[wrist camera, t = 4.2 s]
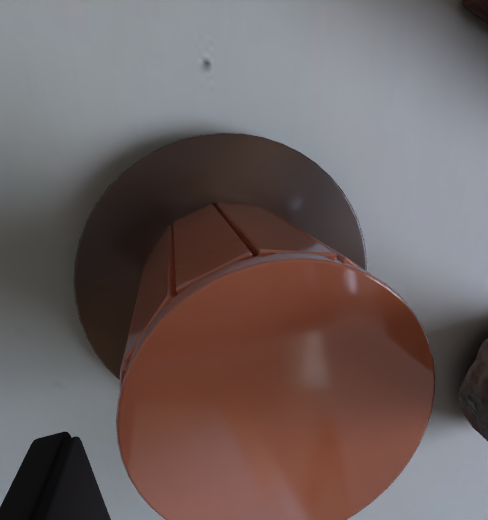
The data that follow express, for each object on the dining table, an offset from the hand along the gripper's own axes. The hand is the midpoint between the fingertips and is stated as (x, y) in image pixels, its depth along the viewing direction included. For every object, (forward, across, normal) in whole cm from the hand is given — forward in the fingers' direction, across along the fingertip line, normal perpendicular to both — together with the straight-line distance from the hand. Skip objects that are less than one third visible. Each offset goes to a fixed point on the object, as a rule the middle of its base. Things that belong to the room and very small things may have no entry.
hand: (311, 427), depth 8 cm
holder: (+11, +1, 0) cm, 11 cm away
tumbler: (+10, 0, 0) cm, 10 cm away
